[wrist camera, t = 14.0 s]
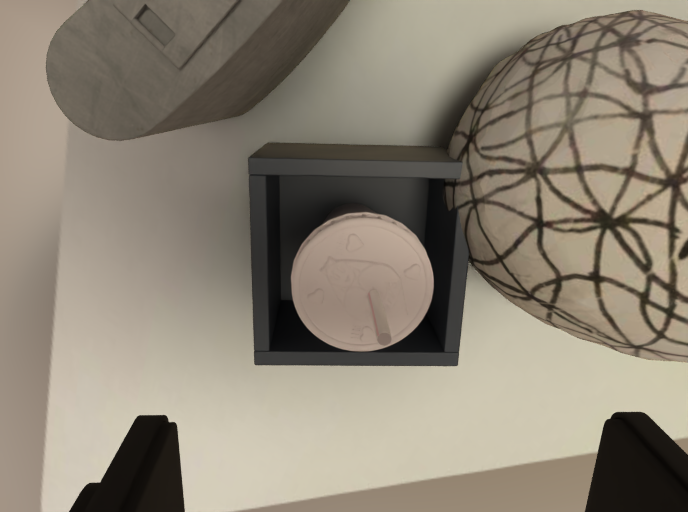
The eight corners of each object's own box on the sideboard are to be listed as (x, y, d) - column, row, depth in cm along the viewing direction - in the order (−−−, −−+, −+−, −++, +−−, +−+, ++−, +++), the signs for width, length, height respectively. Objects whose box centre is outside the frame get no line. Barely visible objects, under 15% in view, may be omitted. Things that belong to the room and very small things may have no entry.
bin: (267, 142, 31) (247, 157, 23) (441, 146, 31) (479, 162, 23) (270, 304, 34) (254, 365, 26) (428, 306, 34) (457, 366, 27)
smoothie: (365, 299, 33) (392, 436, 19) (280, 246, 32) (247, 356, 18) (423, 217, 31) (497, 306, 18) (336, 159, 30) (346, 209, 17)
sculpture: (556, 367, 36) (711, 548, 21) (375, 151, 31) (419, 198, 16) (748, 228, 33) (1071, 328, 19) (584, -32, 28) (851, -165, 14)
